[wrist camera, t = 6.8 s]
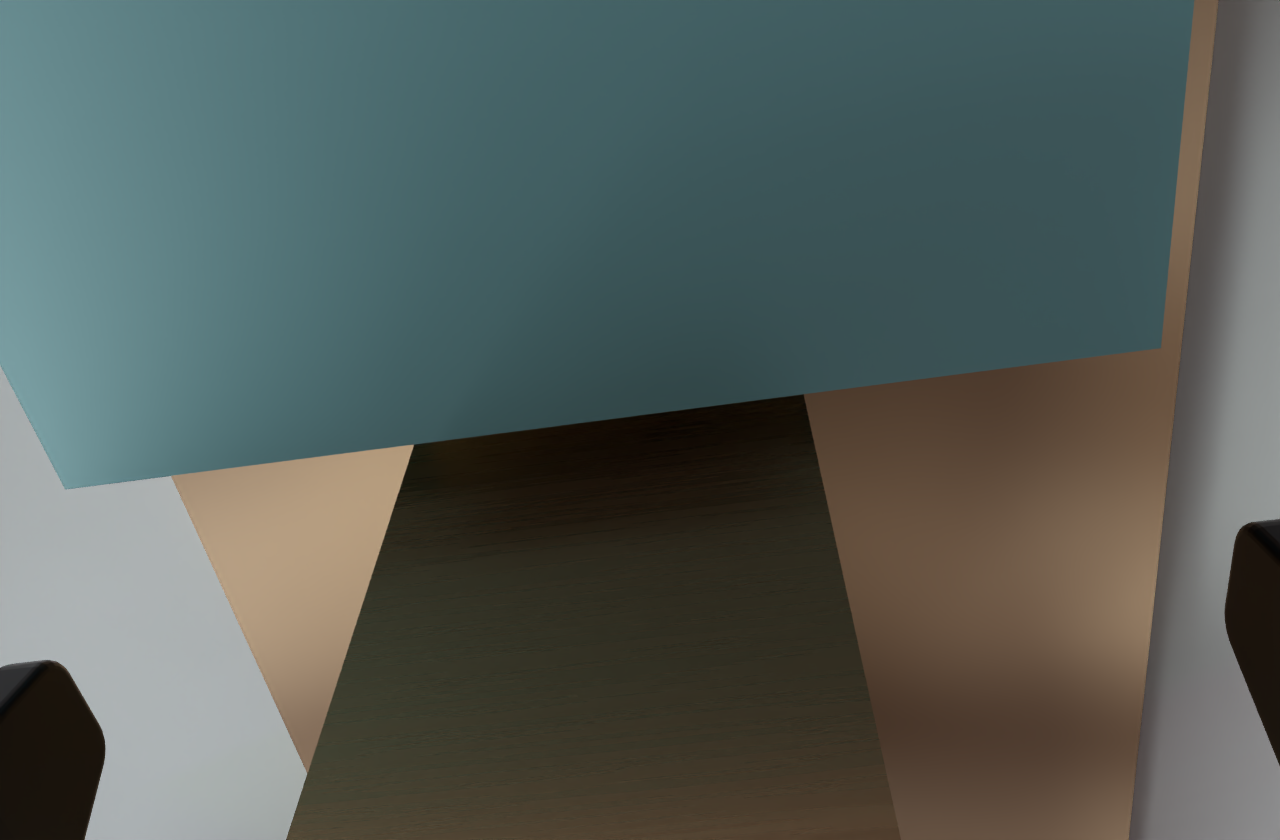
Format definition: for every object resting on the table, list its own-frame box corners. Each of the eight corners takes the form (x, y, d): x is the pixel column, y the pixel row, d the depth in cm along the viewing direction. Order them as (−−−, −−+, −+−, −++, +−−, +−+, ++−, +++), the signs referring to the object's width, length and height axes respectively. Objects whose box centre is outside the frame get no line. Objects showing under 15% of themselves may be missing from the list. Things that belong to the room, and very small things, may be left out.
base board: (1079, 1107, 25) (1094, 1156, 24) (505, 1147, 26) (500, 1195, 25) (1220, -473, 10) (1270, -489, 10) (-88, -221, 12) (-146, -216, 11)
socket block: (973, 111, 12) (1160, 347, 8) (270, 216, 13) (65, 489, 9) (972, -258, 11) (1216, -230, 6) (155, -112, 11) (-184, 11, 7)
